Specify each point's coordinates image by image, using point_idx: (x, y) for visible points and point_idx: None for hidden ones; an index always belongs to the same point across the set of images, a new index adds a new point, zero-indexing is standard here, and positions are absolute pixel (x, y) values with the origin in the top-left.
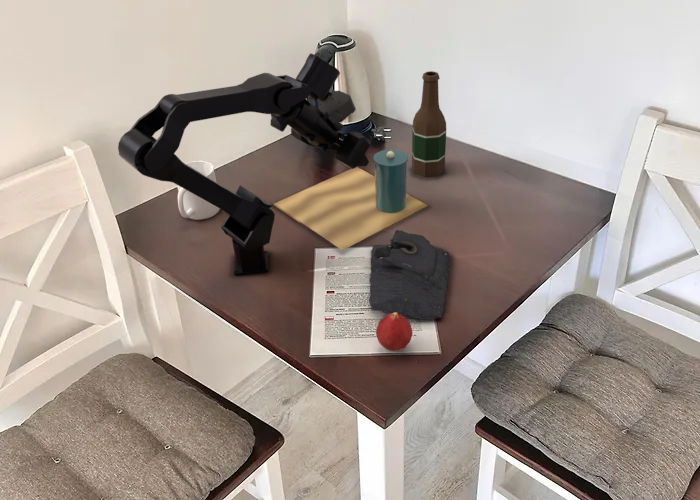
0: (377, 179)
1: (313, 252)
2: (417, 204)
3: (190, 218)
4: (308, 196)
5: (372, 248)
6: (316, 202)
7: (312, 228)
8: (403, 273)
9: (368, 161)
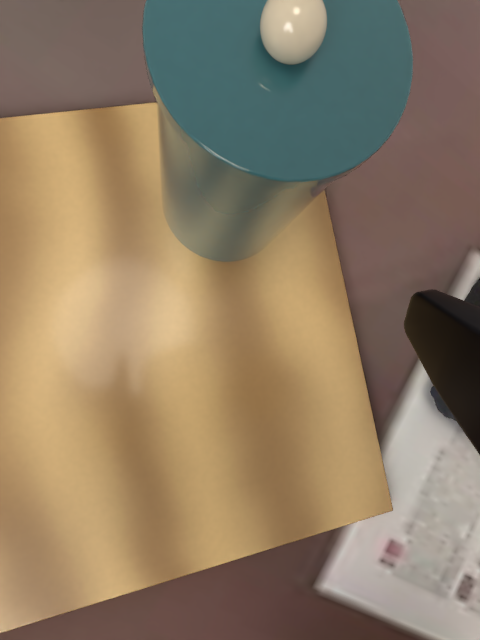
0: (257, 220)
1: (335, 603)
2: None
3: None
4: None
5: (451, 418)
6: (26, 467)
7: (209, 561)
8: None
9: (447, 297)
